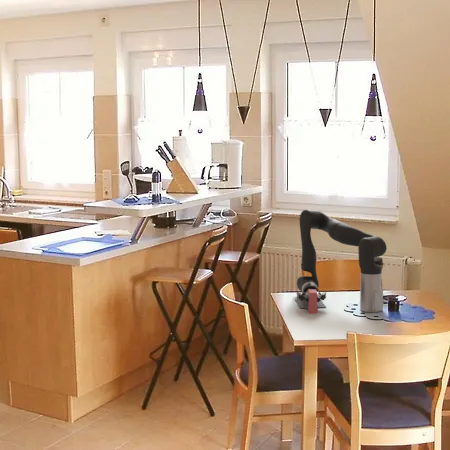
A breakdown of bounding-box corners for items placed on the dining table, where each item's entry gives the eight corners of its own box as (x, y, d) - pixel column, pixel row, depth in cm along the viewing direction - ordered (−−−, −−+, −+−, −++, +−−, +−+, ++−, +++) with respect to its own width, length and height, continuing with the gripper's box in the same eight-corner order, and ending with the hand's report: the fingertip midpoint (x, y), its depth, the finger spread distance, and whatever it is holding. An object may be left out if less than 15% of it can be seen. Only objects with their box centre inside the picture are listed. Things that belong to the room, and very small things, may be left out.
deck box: (308, 309, 347) (308, 289, 346) (316, 309, 347) (316, 289, 345) (309, 313, 341) (309, 292, 339) (317, 313, 340) (317, 292, 339)
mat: (295, 300, 365) (295, 299, 365) (320, 299, 366) (320, 298, 366) (300, 308, 349) (300, 307, 349) (326, 307, 350) (326, 306, 350)
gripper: (294, 283, 357) (297, 291, 340) (325, 283, 356) (329, 291, 339) (294, 299, 358) (297, 308, 341) (325, 299, 357) (329, 308, 340)
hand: (313, 300), depth 340 cm, fingers open, 4 cm apart
